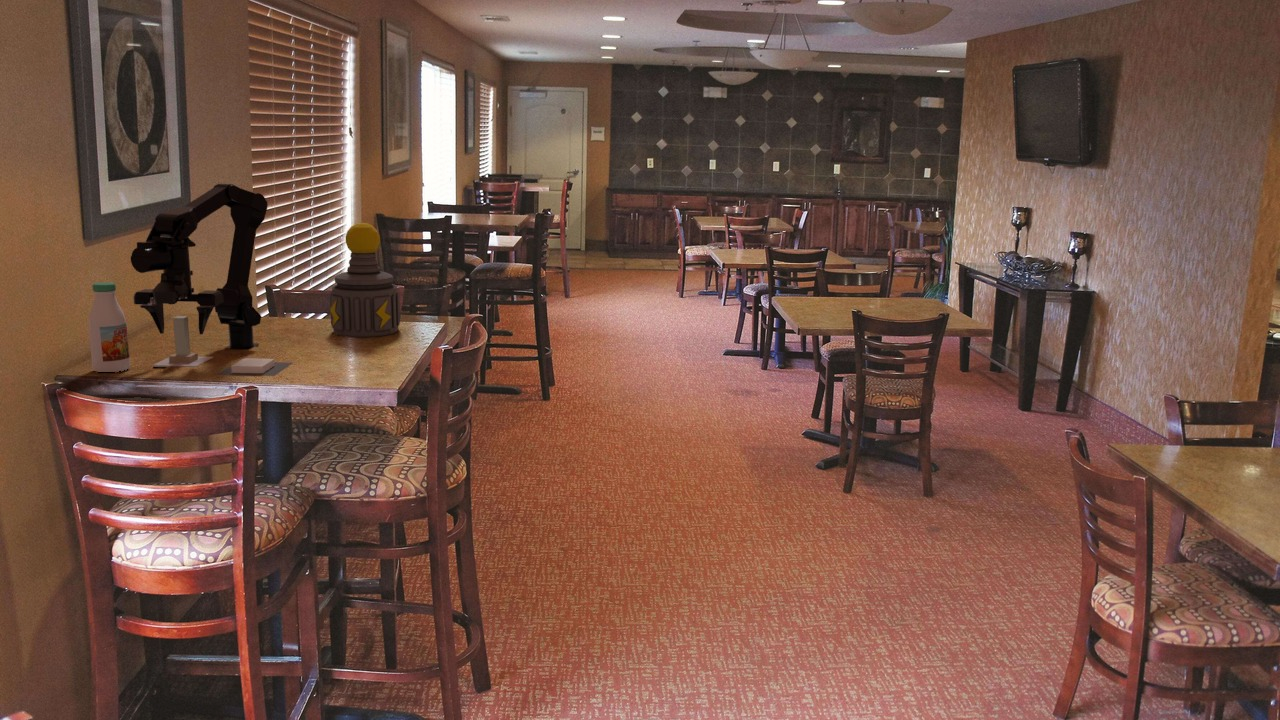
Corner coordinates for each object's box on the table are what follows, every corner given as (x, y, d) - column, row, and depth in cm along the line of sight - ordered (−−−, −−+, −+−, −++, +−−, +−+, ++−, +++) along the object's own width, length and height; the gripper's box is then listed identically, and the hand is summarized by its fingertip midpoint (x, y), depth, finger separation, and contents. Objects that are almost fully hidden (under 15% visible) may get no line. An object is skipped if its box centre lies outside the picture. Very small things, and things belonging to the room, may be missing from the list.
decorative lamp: (354, 341, 273) (349, 227, 267) (317, 330, 286) (312, 221, 279) (414, 332, 287) (411, 223, 280) (377, 322, 299) (373, 218, 293)
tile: (244, 358, 241) (231, 365, 233) (274, 358, 241) (262, 366, 233) (244, 365, 241) (231, 373, 233) (274, 366, 241) (262, 374, 233)
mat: (238, 363, 245) (238, 361, 245) (293, 364, 245) (293, 362, 245) (216, 376, 233) (216, 374, 232) (274, 377, 233) (274, 375, 233)
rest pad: (171, 358, 249) (171, 355, 249) (213, 359, 249) (213, 356, 249) (152, 367, 239) (152, 365, 239) (196, 368, 239) (196, 366, 239)
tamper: (177, 358, 246) (173, 315, 244) (198, 359, 246) (194, 315, 244) (169, 362, 242) (165, 318, 240) (190, 363, 242) (187, 318, 240)
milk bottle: (89, 374, 232) (80, 286, 227) (96, 367, 239) (88, 281, 234) (127, 373, 234) (119, 285, 229) (133, 365, 241) (125, 280, 237)
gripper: (119, 271, 231) (125, 339, 235) (202, 273, 231) (207, 341, 235) (142, 265, 242) (147, 330, 246) (222, 266, 242) (226, 332, 246)
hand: (181, 333), depth 243 cm, fingers open, 9 cm apart
